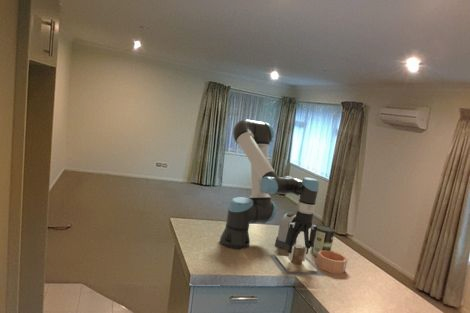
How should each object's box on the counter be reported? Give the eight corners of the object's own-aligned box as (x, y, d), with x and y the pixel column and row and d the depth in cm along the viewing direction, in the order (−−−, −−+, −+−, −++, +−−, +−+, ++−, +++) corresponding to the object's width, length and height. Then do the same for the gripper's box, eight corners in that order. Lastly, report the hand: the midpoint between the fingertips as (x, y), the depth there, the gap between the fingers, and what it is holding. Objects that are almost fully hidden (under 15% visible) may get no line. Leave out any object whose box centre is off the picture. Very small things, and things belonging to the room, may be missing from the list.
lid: (286, 271, 163) (289, 251, 162) (275, 257, 178) (278, 239, 177) (317, 272, 167) (320, 253, 166) (303, 259, 181) (307, 241, 180)
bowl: (324, 273, 169) (326, 260, 168) (311, 261, 181) (314, 249, 181) (349, 274, 172) (351, 262, 171) (335, 262, 184) (338, 251, 184)
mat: (282, 274, 160) (282, 273, 160) (268, 255, 179) (268, 254, 179) (324, 276, 165) (324, 275, 165) (306, 258, 184) (306, 257, 184)
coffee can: (329, 252, 198) (334, 227, 196) (330, 259, 188) (335, 233, 186) (310, 248, 200) (314, 223, 198) (310, 255, 190) (315, 228, 188)
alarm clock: (289, 252, 189) (295, 217, 187) (270, 246, 194) (276, 212, 192) (299, 244, 203) (305, 212, 201) (281, 239, 208) (287, 207, 206)
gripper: (289, 212, 163) (280, 262, 166) (327, 215, 168) (318, 264, 171) (283, 207, 171) (274, 255, 173) (320, 211, 175) (311, 257, 178)
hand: (296, 259), depth 172 cm, fingers open, 6 cm apart
